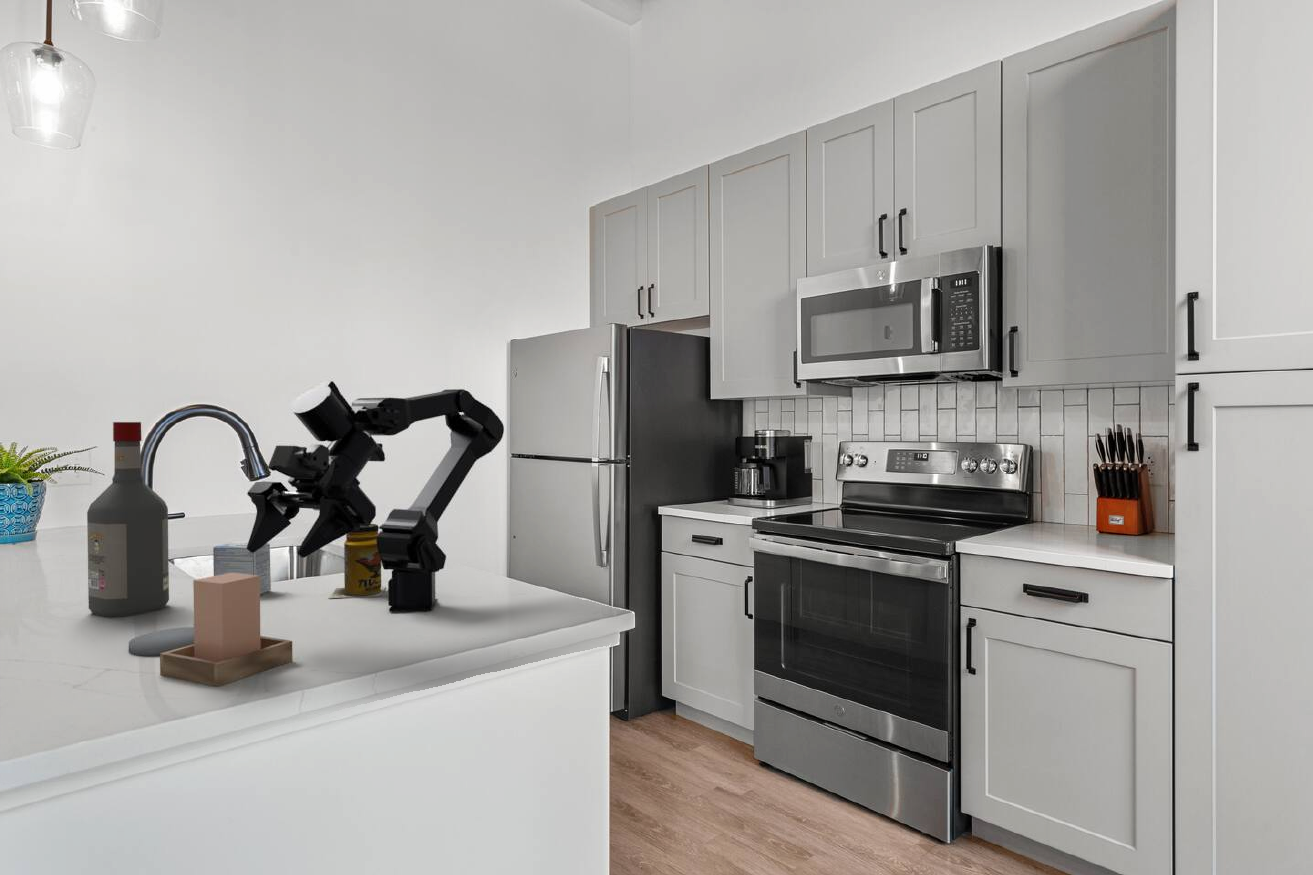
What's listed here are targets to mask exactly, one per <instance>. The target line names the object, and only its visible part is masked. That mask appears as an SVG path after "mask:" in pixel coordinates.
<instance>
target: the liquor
mask: <svg viewBox="0 0 1313 875" xmlns="http://www.w3.org/2000/svg"><path fill="white" fill-rule="evenodd" d="M112 441H113V442H114V471H113V472H114V474H113V476H112V479H111V480H112V482H111V483H110V485H109V486H108V487H106V489H105V490H103V491H102V493H100V495H98V496H97V497H96V499H95V500H94V501H93V502H91V503H90V505H89V507H88V510H87V513H86V516H87V518H86V524H87V525H86V526H87V570H88V571H87V577H88V578H87V581H88V584H87V586H88V587H87V589H88V590H87V591H88V593H87V594H88V598H87V599H88V610H89V611H90V612H91V613H92V614H93V615H97V616H101V617H106V618H118V617H120V618H121V617H131V616H135V615H140V614H144V613H149V612H150V613H151V612H154V611H158V610H162V609H163V608H165V607H166V606H167V603H168V602H169V600H170V576H169V574H170V573H169V572H170V571H169V569H170V568H169V565H170V564H169V511H168V510H169V509H168V506H167V503H166V501H165V500H164V499H163V498H162V497H161V496H159V495H158V494H157V493H156V492H155V491H154V490H153V489H152V488H151V487H150V486H148V484H146V483H145V482H144V476H143V475H142V461H141V460H142V457H141V442H142V422H141V421H112Z"/></svg>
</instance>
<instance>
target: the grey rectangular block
mask: <svg viewBox="0 0 1313 875" xmlns="http://www.w3.org/2000/svg"><path fill="white" fill-rule="evenodd" d="M247 545H248V542H227V543H226V542H225V543H221V544H218V545H215V546H213V548H212V552H213V553H212V554H213V556H212V557H213V559H212V560H213V561H212V562H213V576H217V575H222V574H227V573H240V574H249V575H257V576H260V596H261V595H264V594H266V593H269V592H271V591H272V580H271V579H272V577H271V545H270V543H269V542H268V543H266V544H265V545H264V546H263V547H261V548H260V549H258V550H257V551H255V552H254V553H251V552H250V551H249V550H247Z"/></svg>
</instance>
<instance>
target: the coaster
mask: <svg viewBox="0 0 1313 875" xmlns="http://www.w3.org/2000/svg"><path fill="white" fill-rule="evenodd" d="M193 644H194V626H184V627H174V628H173V627H172V628H167V629H161V630H156V631H152V632H148V633H144V634H140V635H139V636H136V637H134V638H131V639H130V640H129V641H128V652H129V654H132V655H136V656H160V654H161V653H164V652H168V651H171V650H175V649H178V648H182V647H186V646H189V645H193Z"/></svg>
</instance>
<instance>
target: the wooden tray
mask: <svg viewBox="0 0 1313 875" xmlns="http://www.w3.org/2000/svg"><path fill="white" fill-rule="evenodd" d="M260 642H261V649H260V650H256V651H253V652H250V653H247V654H244V655H240V656H237V657H234V658H231V659H228V660H224V661H221V662H215V661H210V660H204V659H199V658H195V657H194V644H193V645H189V646H186V647H182V648H178V649H175V650H171V651H168V652H164V653H161V654H160V655H159V671H160V672H159V675H161V676H166V677H169V678H174V679H179V680H186V681H190V682H195V683H198V684H199V683H200V684H203V685H204V684H205V685H209V686H212V687H213V686H214V687H221V686H223V685H227V684H229V683H232V682H235V681H238V680H240V679H244V678H246V677H249V676H252V675H255V674H258V673H261V672H264V671H267V670H269V669H274V668H276V667H278V666H281V665H284V664H287V663H290V662H293V640H289V639H282V638H275V637H270V636H262V635H260Z"/></svg>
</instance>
